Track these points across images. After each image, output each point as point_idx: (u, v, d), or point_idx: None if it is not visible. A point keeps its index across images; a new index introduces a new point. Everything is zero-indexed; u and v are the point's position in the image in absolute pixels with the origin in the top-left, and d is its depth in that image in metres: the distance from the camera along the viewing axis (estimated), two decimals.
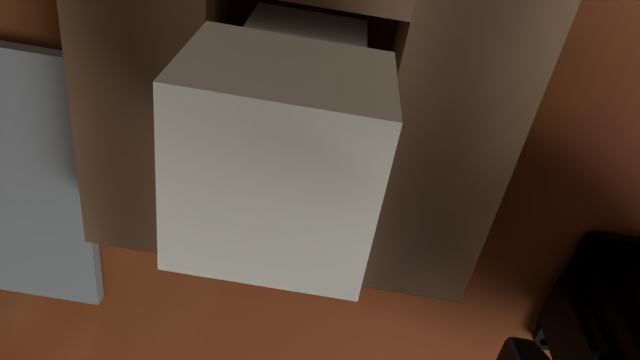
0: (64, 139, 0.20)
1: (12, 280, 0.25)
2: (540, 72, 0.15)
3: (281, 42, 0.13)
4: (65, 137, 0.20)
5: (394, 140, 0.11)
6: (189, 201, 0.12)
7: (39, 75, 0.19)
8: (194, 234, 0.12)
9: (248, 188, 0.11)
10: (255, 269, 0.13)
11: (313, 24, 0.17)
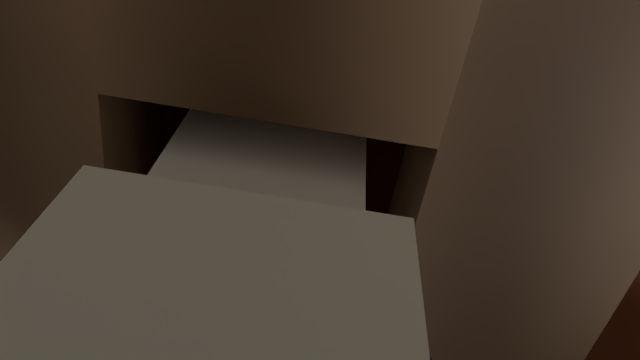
0: None
1: None
2: None
3: (210, 214, 0.07)
4: None
5: None
6: None
7: None
8: None
9: None
10: None
11: (283, 130, 0.11)
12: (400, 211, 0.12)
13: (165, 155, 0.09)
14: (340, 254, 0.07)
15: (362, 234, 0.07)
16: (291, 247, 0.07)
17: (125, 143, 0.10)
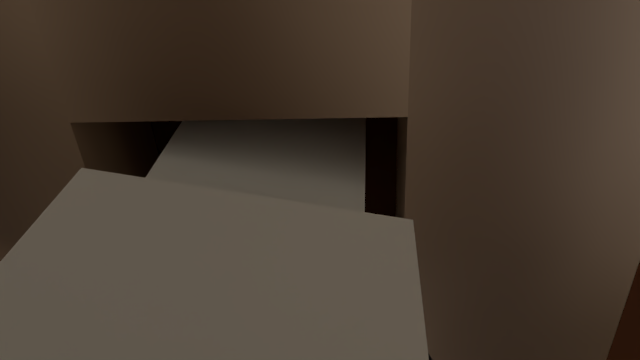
0: None
1: None
2: None
3: (208, 217, 0.07)
4: None
5: None
6: None
7: None
8: None
9: None
10: None
11: (282, 131, 0.11)
12: (399, 190, 0.11)
13: (163, 157, 0.09)
14: (339, 256, 0.07)
15: (361, 236, 0.07)
16: (289, 249, 0.07)
17: (116, 167, 0.11)
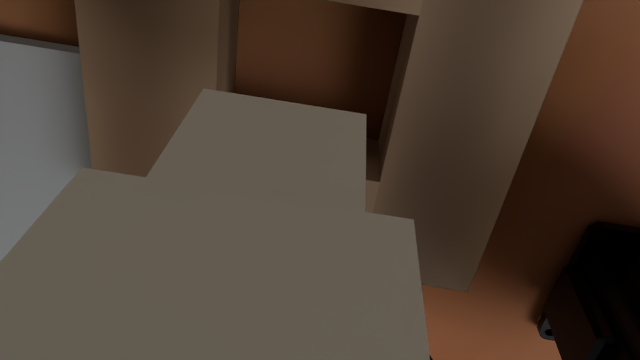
0: (78, 134, 0.21)
1: None
2: (546, 64, 0.16)
3: (209, 216, 0.07)
4: (79, 132, 0.21)
5: None
6: None
7: (54, 71, 0.20)
8: None
9: None
10: None
11: (283, 131, 0.11)
12: (398, 75, 0.18)
13: (164, 157, 0.09)
14: (339, 256, 0.07)
15: (361, 236, 0.07)
16: (290, 249, 0.07)
17: (225, 25, 0.17)
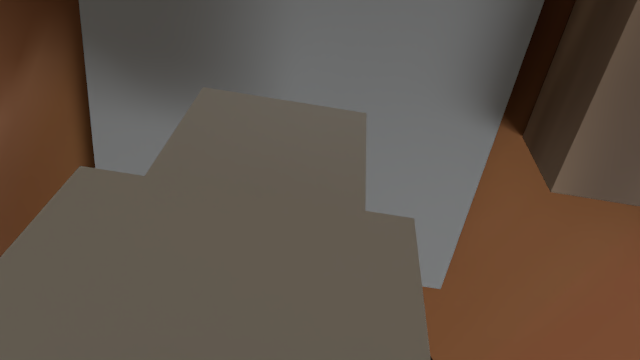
0: (503, 48, 0.14)
1: None
2: None
3: (207, 215, 0.07)
4: (505, 46, 0.14)
5: None
6: None
7: None
8: None
9: None
10: None
11: (282, 130, 0.11)
12: None
13: (163, 156, 0.09)
14: (339, 255, 0.07)
15: (361, 235, 0.07)
16: (289, 248, 0.07)
17: None
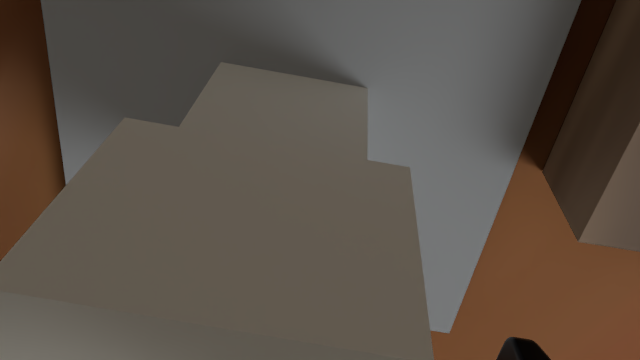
0: (523, 77, 0.13)
1: None
2: None
3: (236, 158, 0.08)
4: (526, 75, 0.13)
5: None
6: None
7: None
8: None
9: None
10: None
11: (293, 99, 0.12)
12: None
13: (190, 116, 0.11)
14: (347, 191, 0.08)
15: (365, 177, 0.09)
16: (305, 184, 0.08)
17: None
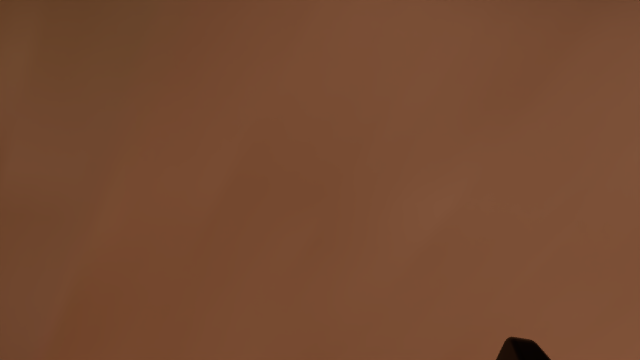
0: None
1: None
2: None
3: None
4: None
5: None
6: None
7: None
8: None
9: None
10: None
11: None
12: None
13: None
14: None
15: None
16: None
17: None
